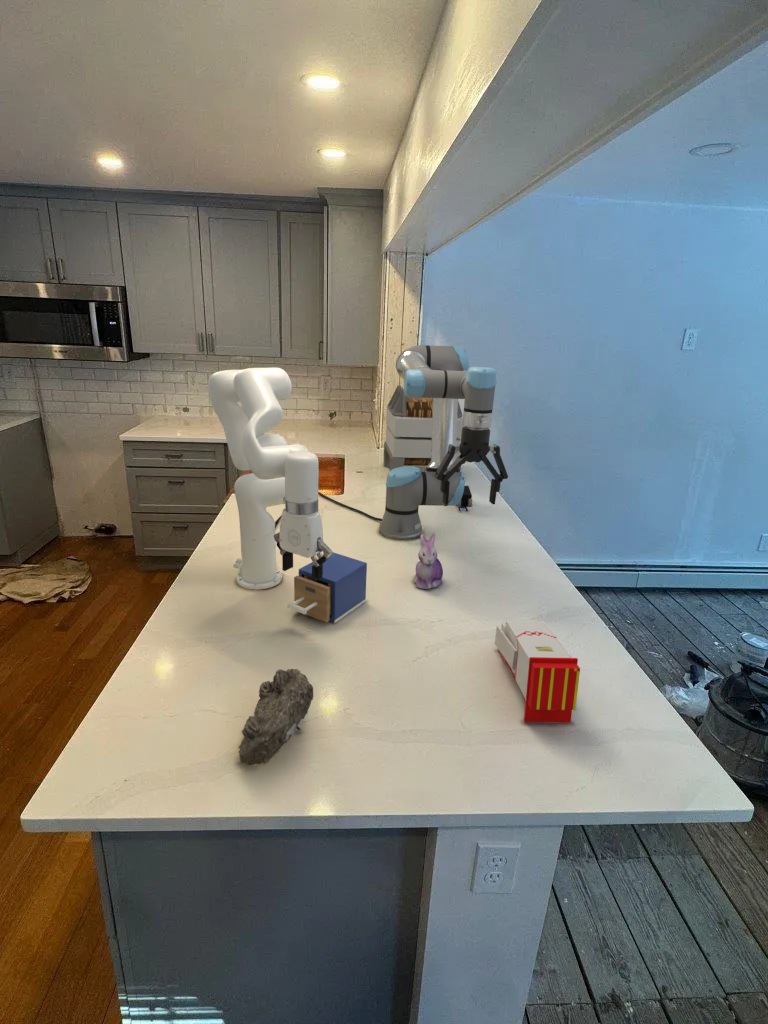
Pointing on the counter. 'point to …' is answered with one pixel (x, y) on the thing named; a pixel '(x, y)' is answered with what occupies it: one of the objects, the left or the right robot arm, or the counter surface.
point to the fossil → (275, 716)
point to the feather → (277, 521)
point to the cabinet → (342, 583)
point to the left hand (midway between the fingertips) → (302, 573)
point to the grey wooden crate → (411, 430)
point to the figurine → (428, 565)
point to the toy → (540, 670)
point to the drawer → (312, 598)
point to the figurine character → (465, 499)
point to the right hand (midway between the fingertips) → (468, 503)
